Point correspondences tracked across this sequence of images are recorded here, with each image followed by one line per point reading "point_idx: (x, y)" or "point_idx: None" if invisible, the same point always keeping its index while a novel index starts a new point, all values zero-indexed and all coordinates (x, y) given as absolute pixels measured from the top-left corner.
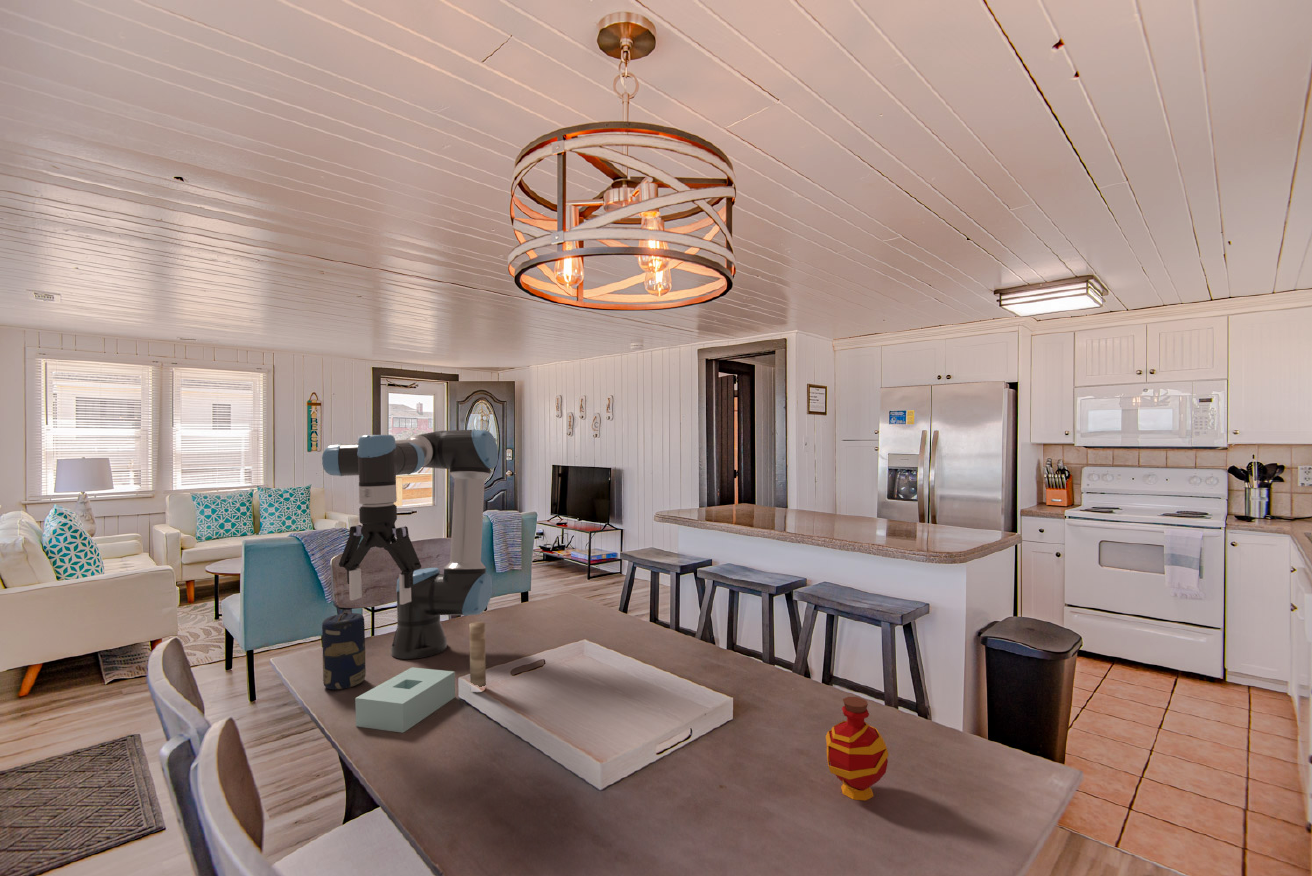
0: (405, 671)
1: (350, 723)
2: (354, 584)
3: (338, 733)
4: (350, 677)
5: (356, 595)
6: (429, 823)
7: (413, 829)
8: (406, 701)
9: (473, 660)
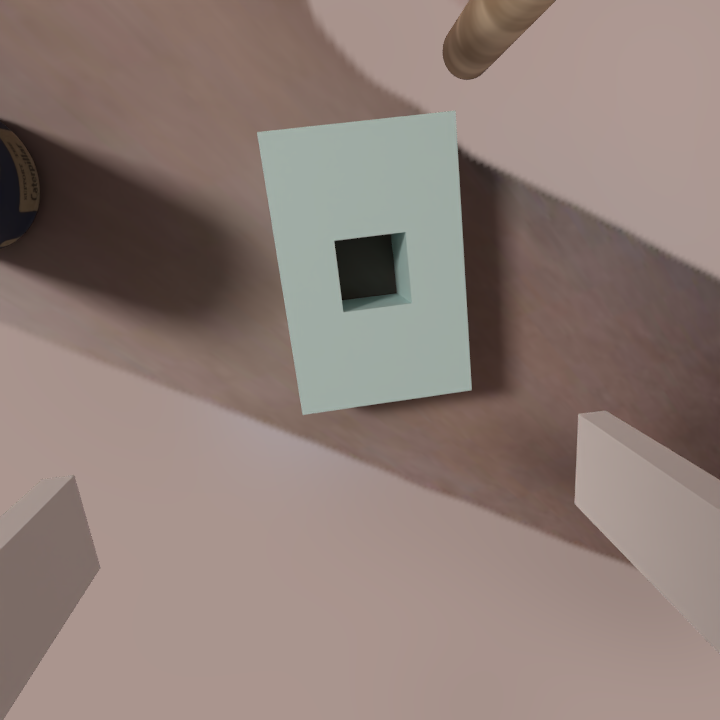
0: (270, 179)
1: (275, 381)
2: (10, 661)
3: (296, 429)
4: (21, 209)
5: (72, 547)
6: None
7: None
8: (470, 374)
9: (514, 33)
